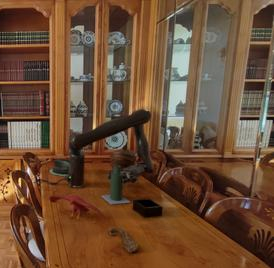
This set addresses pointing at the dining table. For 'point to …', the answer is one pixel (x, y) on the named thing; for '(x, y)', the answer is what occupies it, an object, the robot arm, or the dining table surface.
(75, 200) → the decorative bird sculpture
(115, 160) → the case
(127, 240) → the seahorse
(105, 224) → the dining table surface
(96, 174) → the dining table surface
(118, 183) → the bottle
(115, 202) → the coaster
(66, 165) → the green hat
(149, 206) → the holder
